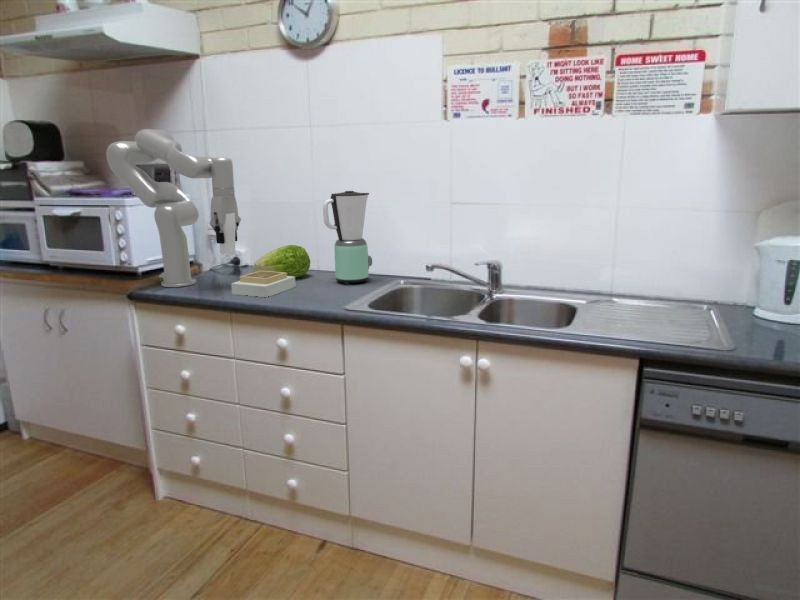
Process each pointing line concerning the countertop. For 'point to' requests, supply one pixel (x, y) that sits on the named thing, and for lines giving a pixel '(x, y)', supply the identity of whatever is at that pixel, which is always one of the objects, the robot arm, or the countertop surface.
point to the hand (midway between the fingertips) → (227, 241)
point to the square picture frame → (263, 284)
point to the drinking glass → (228, 235)
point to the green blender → (349, 236)
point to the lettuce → (285, 261)
